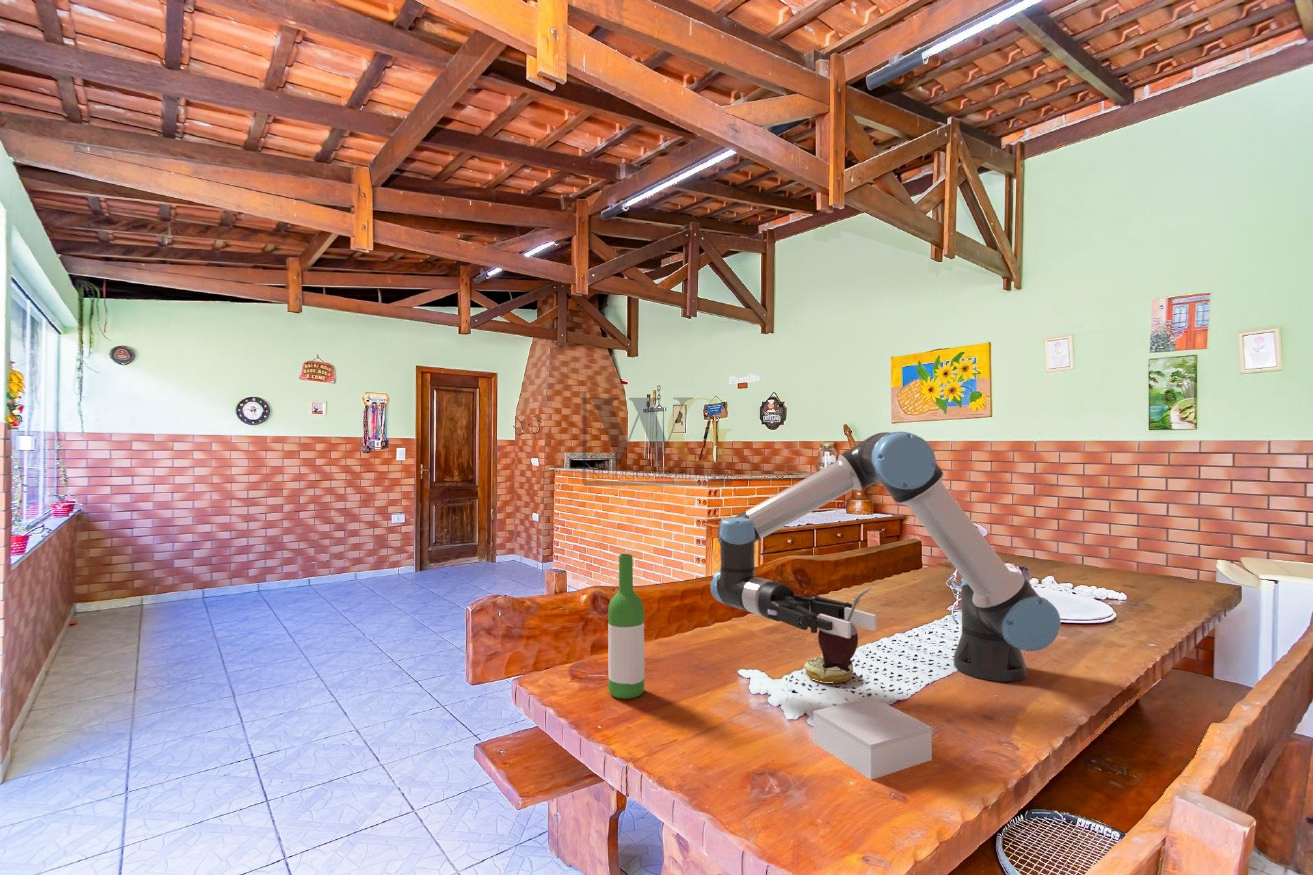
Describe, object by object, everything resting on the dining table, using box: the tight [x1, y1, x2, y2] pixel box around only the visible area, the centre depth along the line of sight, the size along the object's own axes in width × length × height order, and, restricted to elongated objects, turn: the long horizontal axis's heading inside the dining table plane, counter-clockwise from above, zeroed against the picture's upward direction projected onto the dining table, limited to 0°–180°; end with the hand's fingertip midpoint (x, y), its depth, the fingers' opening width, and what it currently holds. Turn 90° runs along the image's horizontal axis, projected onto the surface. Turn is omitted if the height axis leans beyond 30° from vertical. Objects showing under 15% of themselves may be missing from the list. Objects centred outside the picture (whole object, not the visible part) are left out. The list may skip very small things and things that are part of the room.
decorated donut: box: [803, 655, 854, 684], centre depth 145 cm, size 10×11×4 cm
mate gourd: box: [817, 587, 872, 672], centre depth 116 cm, size 8×8×15 cm
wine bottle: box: [607, 553, 645, 700], centre depth 136 cm, size 8×8×30 cm
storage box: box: [812, 696, 933, 781], centre depth 111 cm, size 14×14×6 cm
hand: (862, 626), depth 112 cm, fingers closed on mate gourd, 7 cm apart
